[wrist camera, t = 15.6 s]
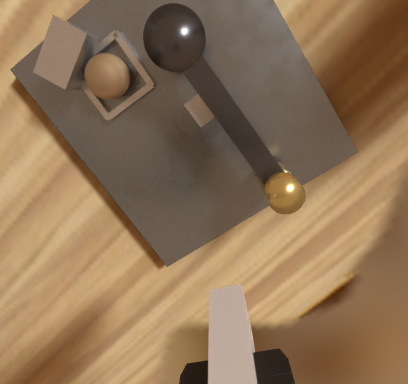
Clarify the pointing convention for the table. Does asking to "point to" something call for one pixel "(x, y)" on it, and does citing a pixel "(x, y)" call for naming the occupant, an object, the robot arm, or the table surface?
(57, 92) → the bench plate
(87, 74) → the tan wooden ball
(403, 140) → the table surface
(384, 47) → the table surface
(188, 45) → the lever
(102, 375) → the table surface
